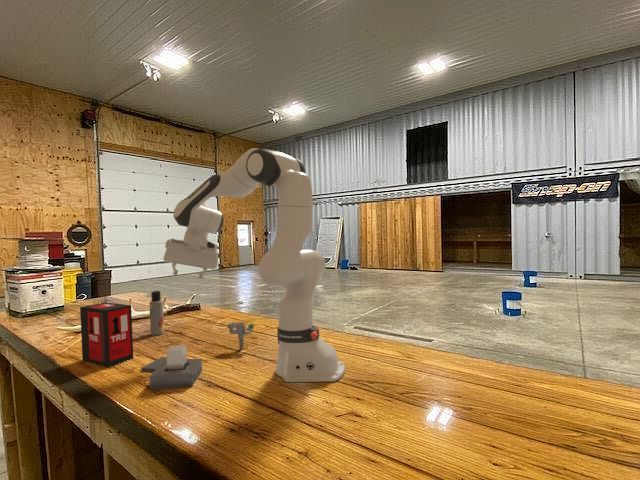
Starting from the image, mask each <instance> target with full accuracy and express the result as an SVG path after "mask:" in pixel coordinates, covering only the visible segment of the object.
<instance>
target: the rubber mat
mask: <svg viewBox="0 0 640 480" xmlns="http://www.w3.org/2000/svg"><path fill="white" fill-rule="evenodd" d="M164 361H167V356H166V357H165V356H162V357H160V358H157V359H156V360H154V361H152V362H149V363H147V364H146V365H145V366H141V368H140V370H141V371H142V372H151V373H153V372H154V371H155V370H156V369H157V368H158V367H159V366H160V365H161V364H162V363H163V362H164Z"/></svg>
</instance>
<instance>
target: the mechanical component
mask: <svg viewBox="0 0 640 480" xmlns="http://www.w3.org/2000/svg"><path fill="white" fill-rule="evenodd" d="M254 328H255V326H254V324H253V323H249V324H248V325H247V326H246V324H245V322H230V323H228V324H227V329H228V330H229V331H228V332H229V334H231V335H237V339H238V342H239V345H238V347H239V350H240V351H242V350H243V349H245V348H244V338H245V335H250V334H251V333H252V332H253V330H254Z"/></svg>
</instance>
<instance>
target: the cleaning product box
mask: <svg viewBox="0 0 640 480" xmlns="http://www.w3.org/2000/svg"><path fill="white" fill-rule="evenodd" d="M79 307H80V312H79V313H80V334H81V335H80V336H81V354H82V356H81V358H82V362H86V363H89V362H90V364H94V365H98V366H101V367H105V368H112V367H115V366H118V365H120V364H123V363H125V362H124V361H126V362H128V361H127V360H129V361H131V360H130V359H132V360H134V346H133V345H134V344H133V343H134V341H133V339H134V338H133V320H132V318H133V317H132V305H131V304H122V303H113V302H106V301H105V302H100V303H95V304H89V305H84V306H79ZM122 362H123V363H122ZM119 363H120V364H119ZM117 364H118V365H117Z"/></svg>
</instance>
